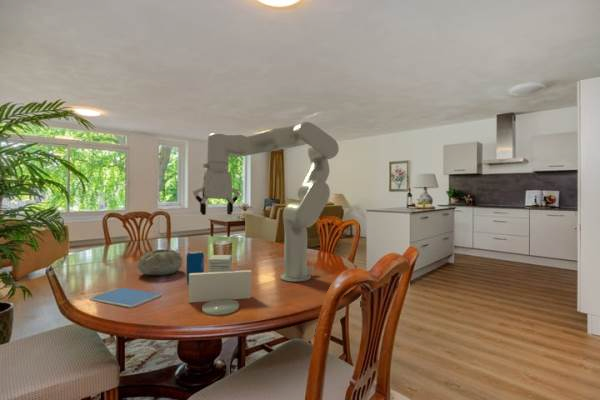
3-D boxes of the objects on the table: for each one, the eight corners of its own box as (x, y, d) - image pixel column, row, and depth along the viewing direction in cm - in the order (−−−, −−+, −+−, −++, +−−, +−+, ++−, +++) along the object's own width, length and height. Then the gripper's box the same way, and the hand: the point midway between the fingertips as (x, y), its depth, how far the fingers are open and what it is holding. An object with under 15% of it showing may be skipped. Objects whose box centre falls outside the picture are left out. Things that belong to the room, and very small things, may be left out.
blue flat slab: (88, 301, 102) (87, 297, 102) (122, 290, 113) (122, 286, 113) (131, 310, 95) (131, 306, 95) (163, 297, 106) (163, 293, 106)
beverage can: (198, 285, 119) (198, 253, 118) (183, 283, 120) (183, 253, 120) (206, 280, 125) (206, 250, 125) (192, 279, 126) (192, 250, 126)
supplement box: (212, 288, 114) (212, 254, 114) (232, 288, 115) (232, 254, 115) (207, 295, 107) (207, 259, 107) (229, 295, 108) (229, 258, 107)
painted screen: (188, 302, 100) (188, 274, 100) (189, 300, 102) (189, 273, 102) (251, 297, 105) (251, 271, 105) (250, 296, 107) (250, 270, 107)
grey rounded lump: (171, 279, 125) (171, 255, 125) (128, 279, 126) (128, 254, 125) (188, 268, 143) (188, 247, 143) (150, 268, 144) (150, 246, 143)
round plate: (226, 299, 103) (226, 296, 103) (246, 308, 96) (246, 305, 96) (195, 307, 96) (195, 305, 96) (213, 318, 88) (213, 315, 88)
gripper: (196, 165, 106) (195, 215, 107) (243, 169, 115) (242, 214, 116) (191, 166, 113) (190, 213, 113) (236, 170, 122) (235, 213, 122)
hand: (216, 214), depth 114 cm, fingers open, 9 cm apart
